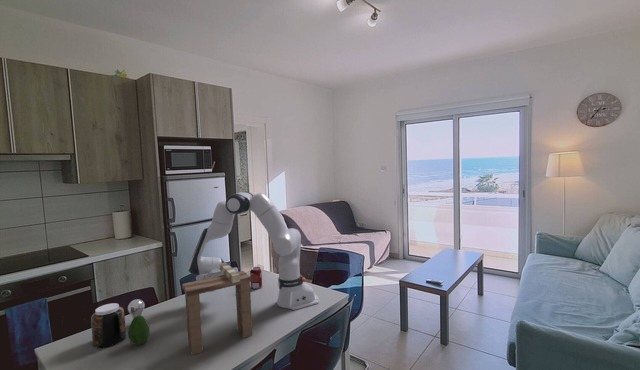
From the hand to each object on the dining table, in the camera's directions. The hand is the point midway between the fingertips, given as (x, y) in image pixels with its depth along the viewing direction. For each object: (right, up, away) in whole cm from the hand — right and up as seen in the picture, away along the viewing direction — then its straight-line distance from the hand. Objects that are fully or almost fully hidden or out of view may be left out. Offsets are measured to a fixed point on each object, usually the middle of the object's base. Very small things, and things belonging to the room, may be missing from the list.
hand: (220, 272), depth 152 cm
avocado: (-29, -26, -18) cm, 43 cm away
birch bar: (+8, +2, -13) cm, 16 cm away
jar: (-43, -26, -16) cm, 53 cm away
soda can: (+10, -20, +39) cm, 45 cm away
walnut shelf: (+5, -24, -17) cm, 30 cm away
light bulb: (-39, -25, -2) cm, 46 cm away
